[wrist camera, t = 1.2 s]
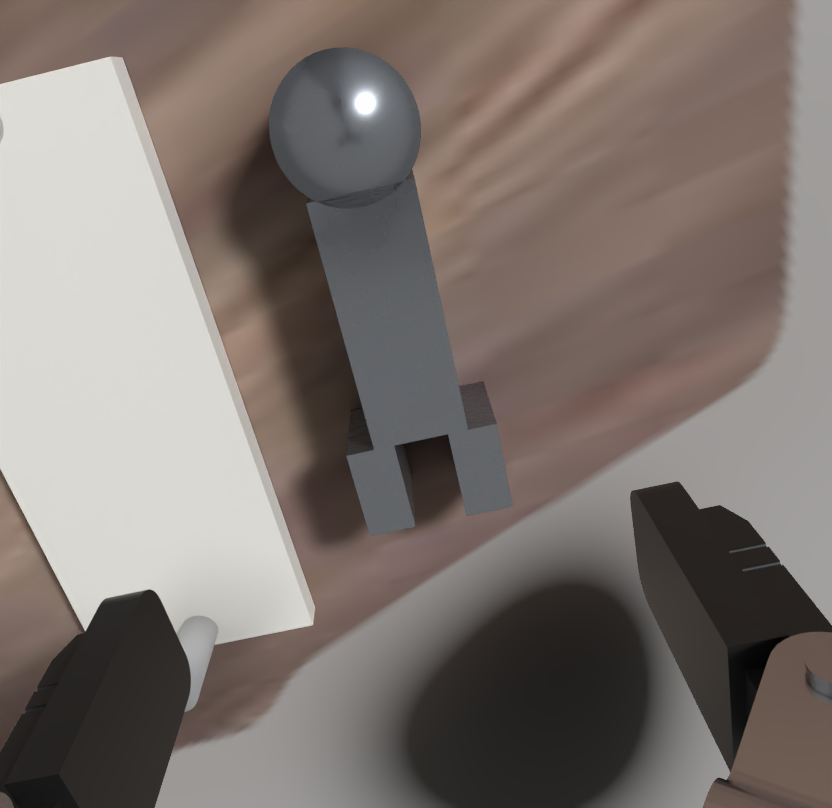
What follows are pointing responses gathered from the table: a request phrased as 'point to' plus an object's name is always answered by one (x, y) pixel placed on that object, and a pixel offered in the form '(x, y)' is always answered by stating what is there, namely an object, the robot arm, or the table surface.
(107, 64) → the peg rest
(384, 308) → the ball-topped forked rod
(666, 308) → the table surface
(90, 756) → the robot arm
